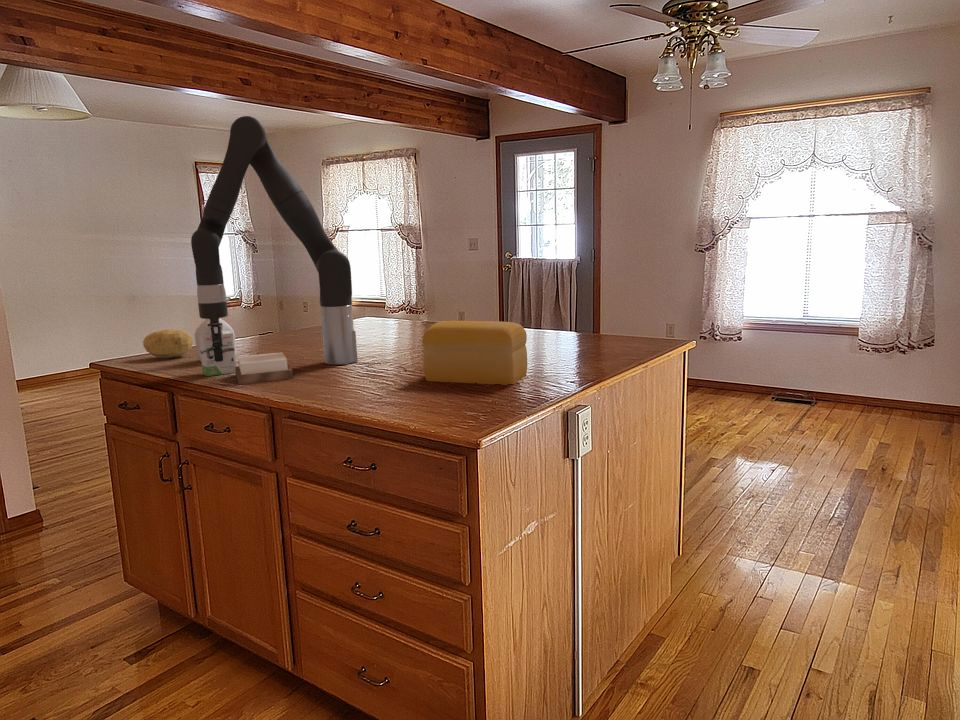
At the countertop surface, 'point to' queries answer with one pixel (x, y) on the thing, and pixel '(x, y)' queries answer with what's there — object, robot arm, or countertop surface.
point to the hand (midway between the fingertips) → (218, 359)
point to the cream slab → (262, 363)
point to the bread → (475, 352)
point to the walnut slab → (263, 376)
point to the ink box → (207, 355)
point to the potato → (168, 343)
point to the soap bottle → (204, 329)
